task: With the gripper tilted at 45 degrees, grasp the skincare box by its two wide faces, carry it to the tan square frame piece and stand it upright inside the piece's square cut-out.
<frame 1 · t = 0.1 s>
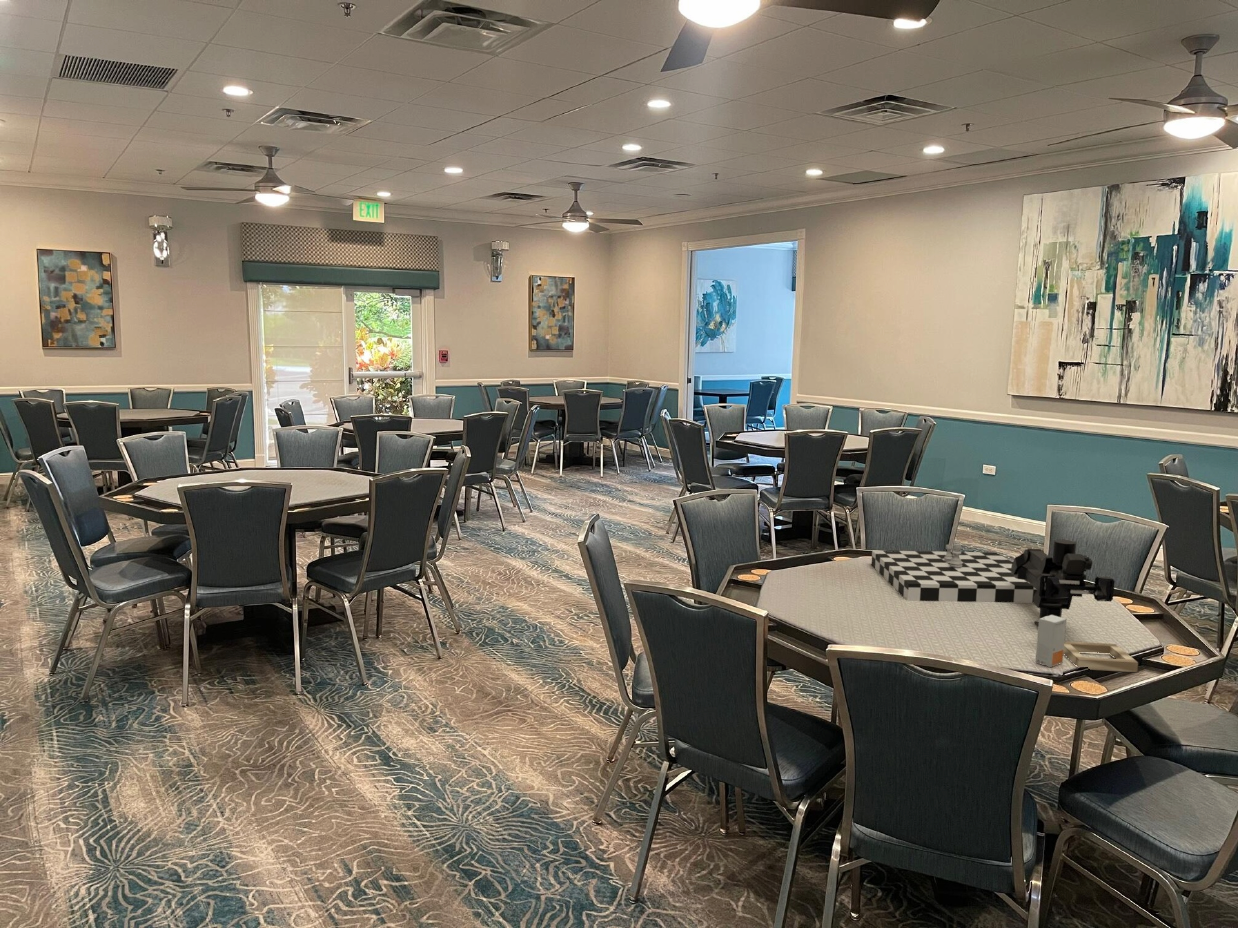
hand: (1086, 596, 234), 17 cm above the table, tool horizontal, fingers open, 9 cm apart
skincare box: (1049, 664, 232), on the table
tan square frame piece: (1096, 660, 234), on the table
checkerboard: (954, 584, 308), on the table
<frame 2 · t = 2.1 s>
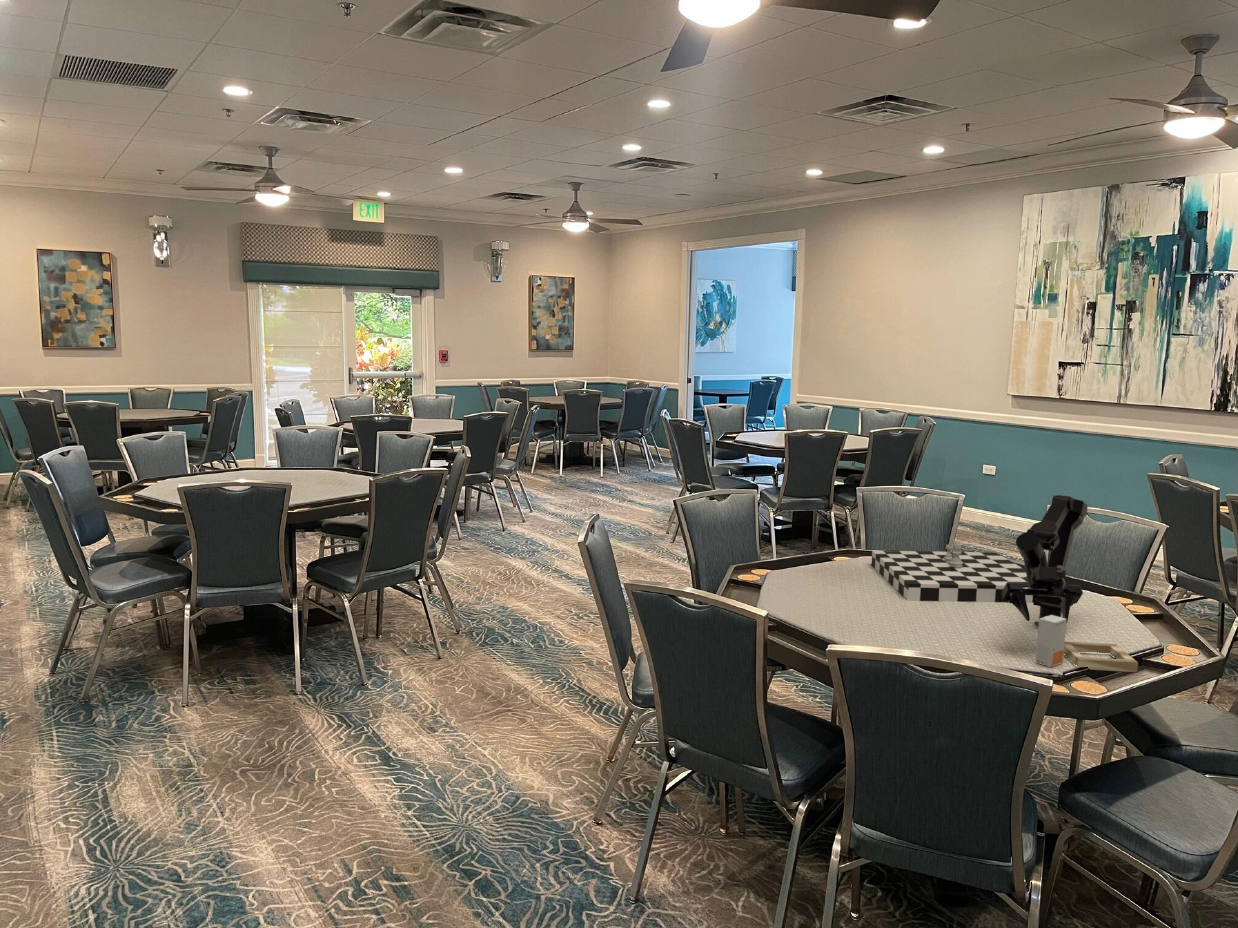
hand: (1047, 621, 234), 10 cm above the table, tool tilted 45°, fingers open, 9 cm apart
nothing on the table moved.
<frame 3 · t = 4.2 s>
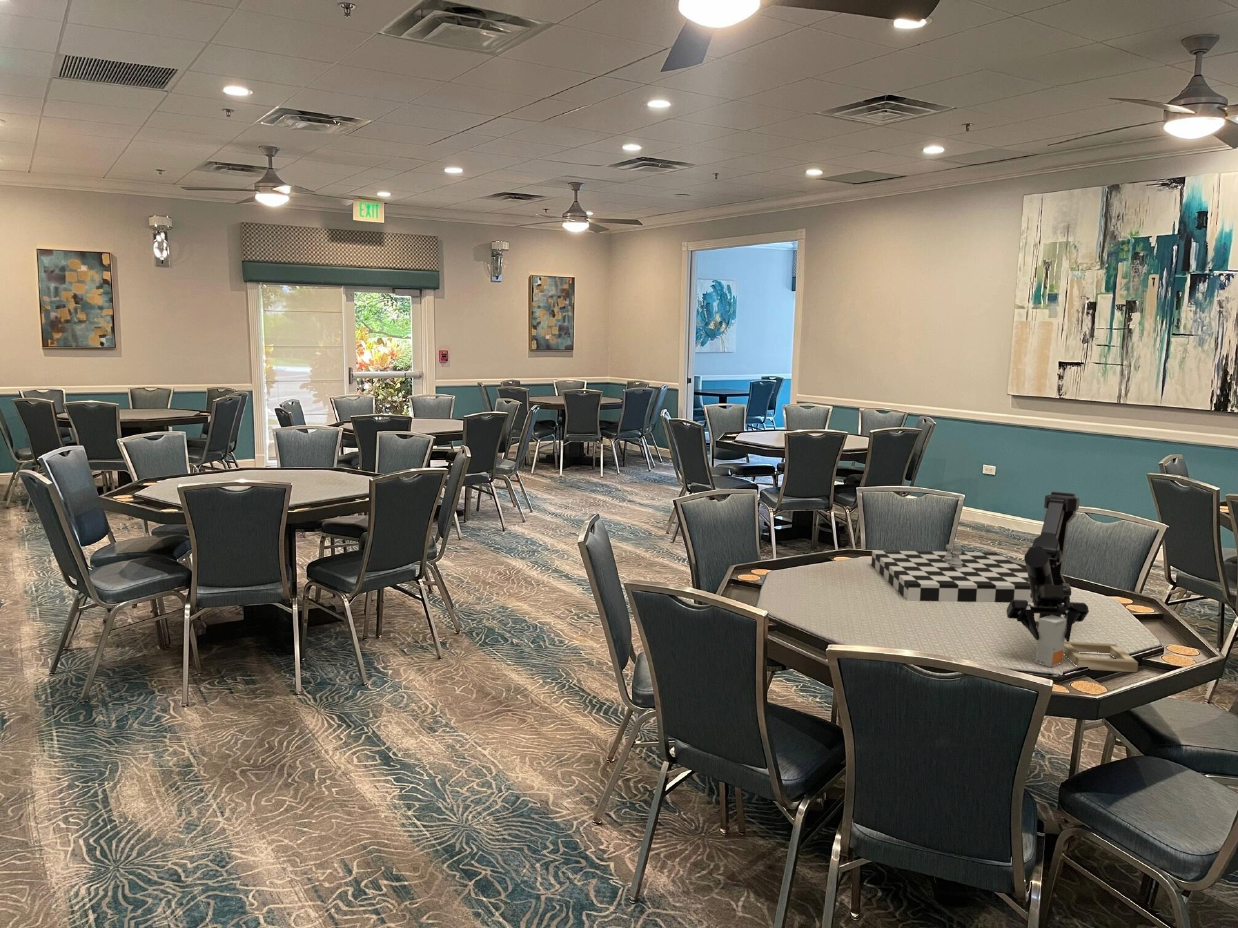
hand: (1052, 640, 230), 7 cm above the table, tool tilted 45°, fingers closed on skincare box, 7 cm apart
skincare box: (1049, 664, 232), on the table, touching gripper
everything else where it was.
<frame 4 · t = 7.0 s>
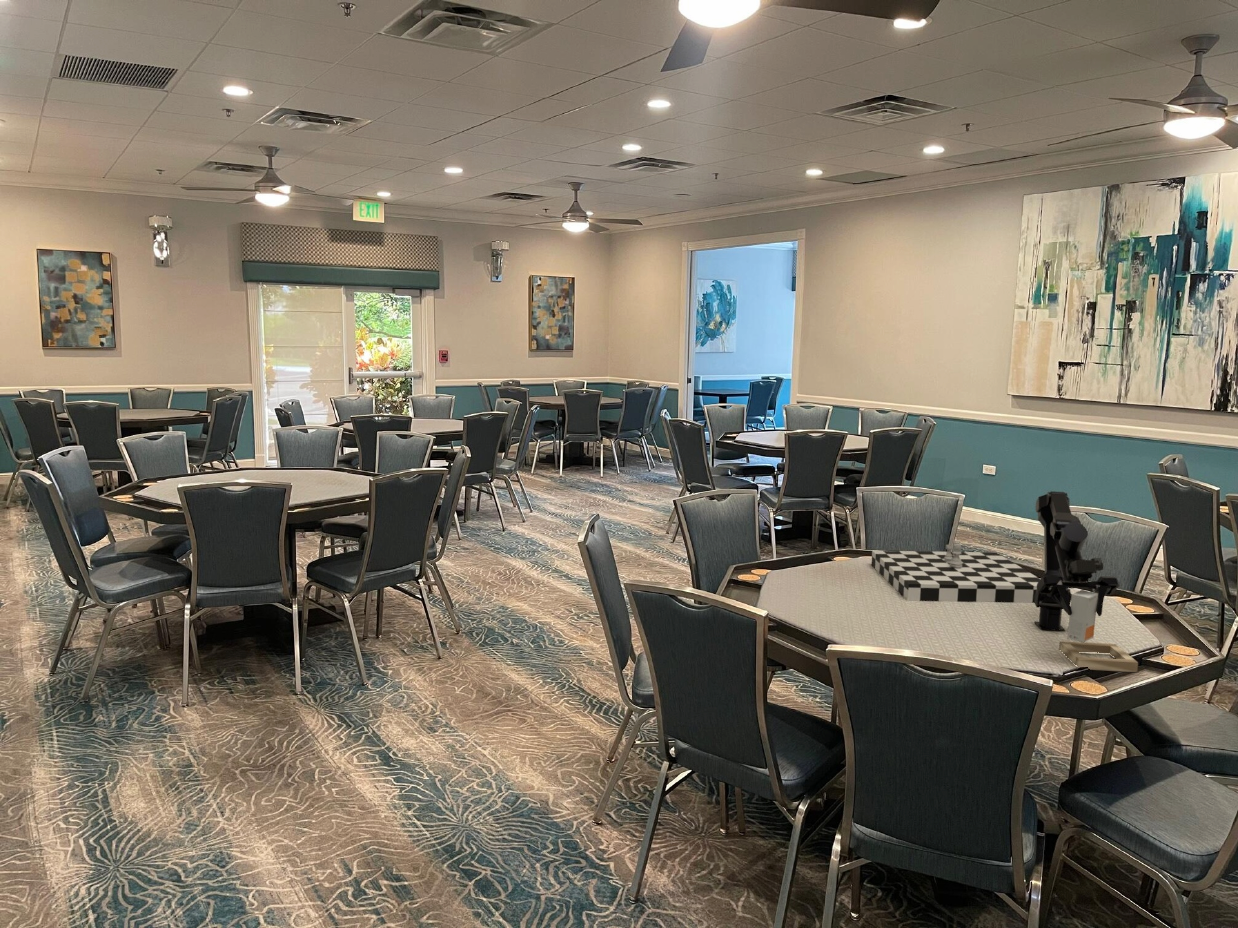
hand: (1085, 615, 230), 13 cm above the table, tool tilted 45°, fingers closed on skincare box, 7 cm apart
skincare box: (1080, 639, 232), point 6 cm above the table, touching gripper
everything else where it was.
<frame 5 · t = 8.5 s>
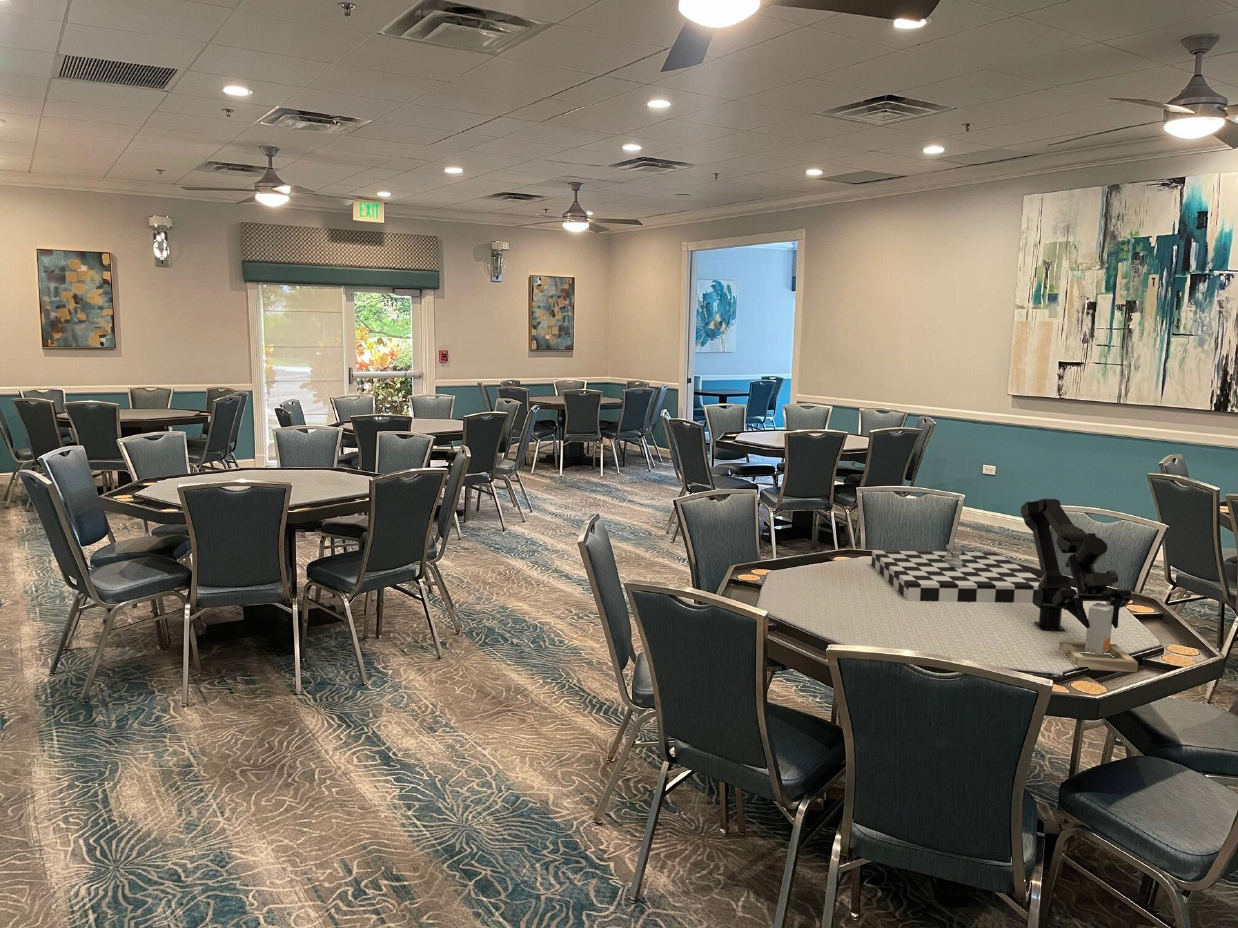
hand: (1102, 627, 232), 9 cm above the table, tool tilted 45°, fingers closed on skincare box, 7 cm apart
skincare box: (1097, 651, 234), point 2 cm above the table, touching gripper
everything else where it was.
when the fingers open (8 cm above the table, at t = 9.8 s): skincare box drops 1 cm, resting in tan square frame piece.
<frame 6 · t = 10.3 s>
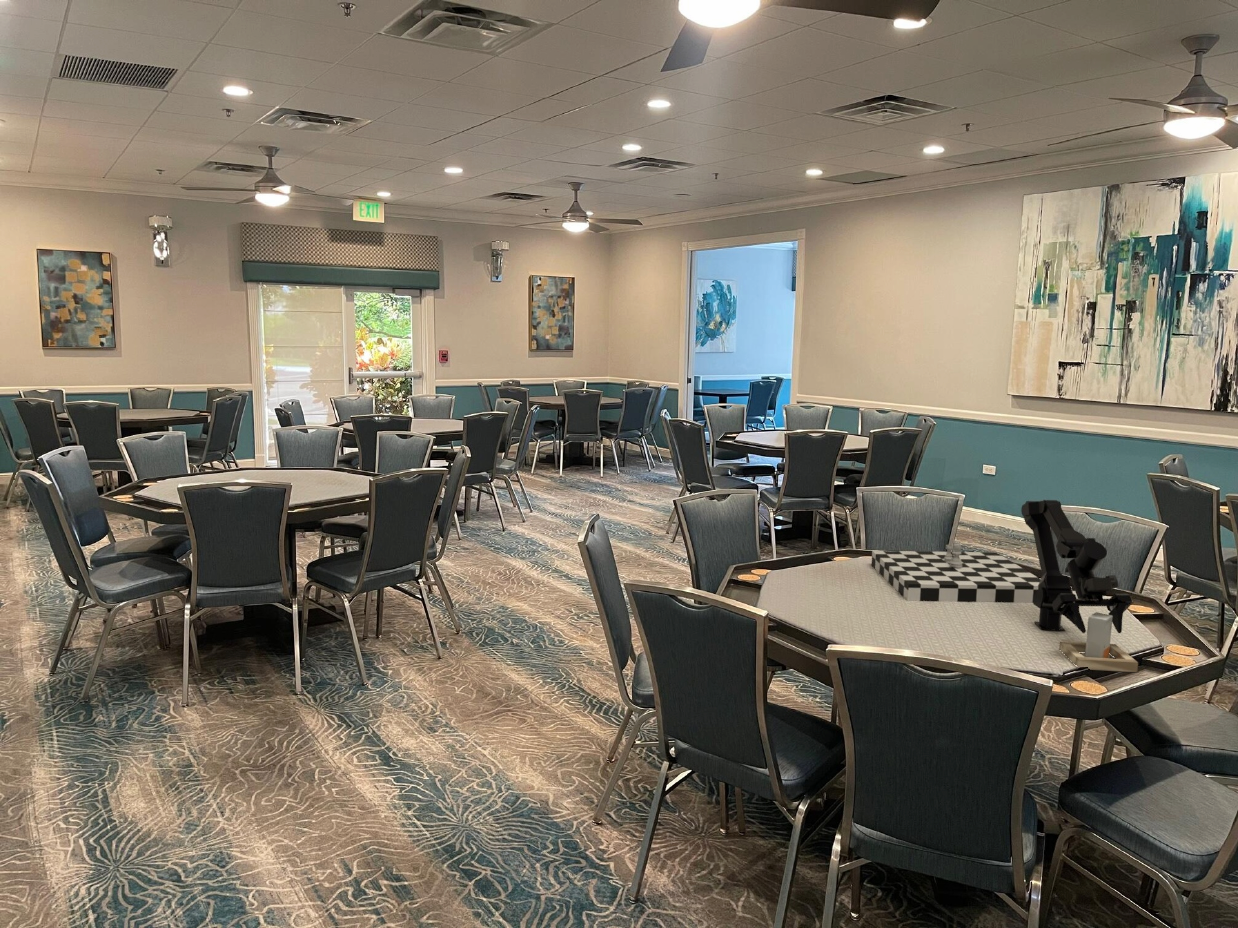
hand: (1102, 632, 232), 8 cm above the table, tool tilted 45°, fingers open, 9 cm apart
skincare box: (1096, 661, 234), resting in tan square frame piece
everything else where it was.
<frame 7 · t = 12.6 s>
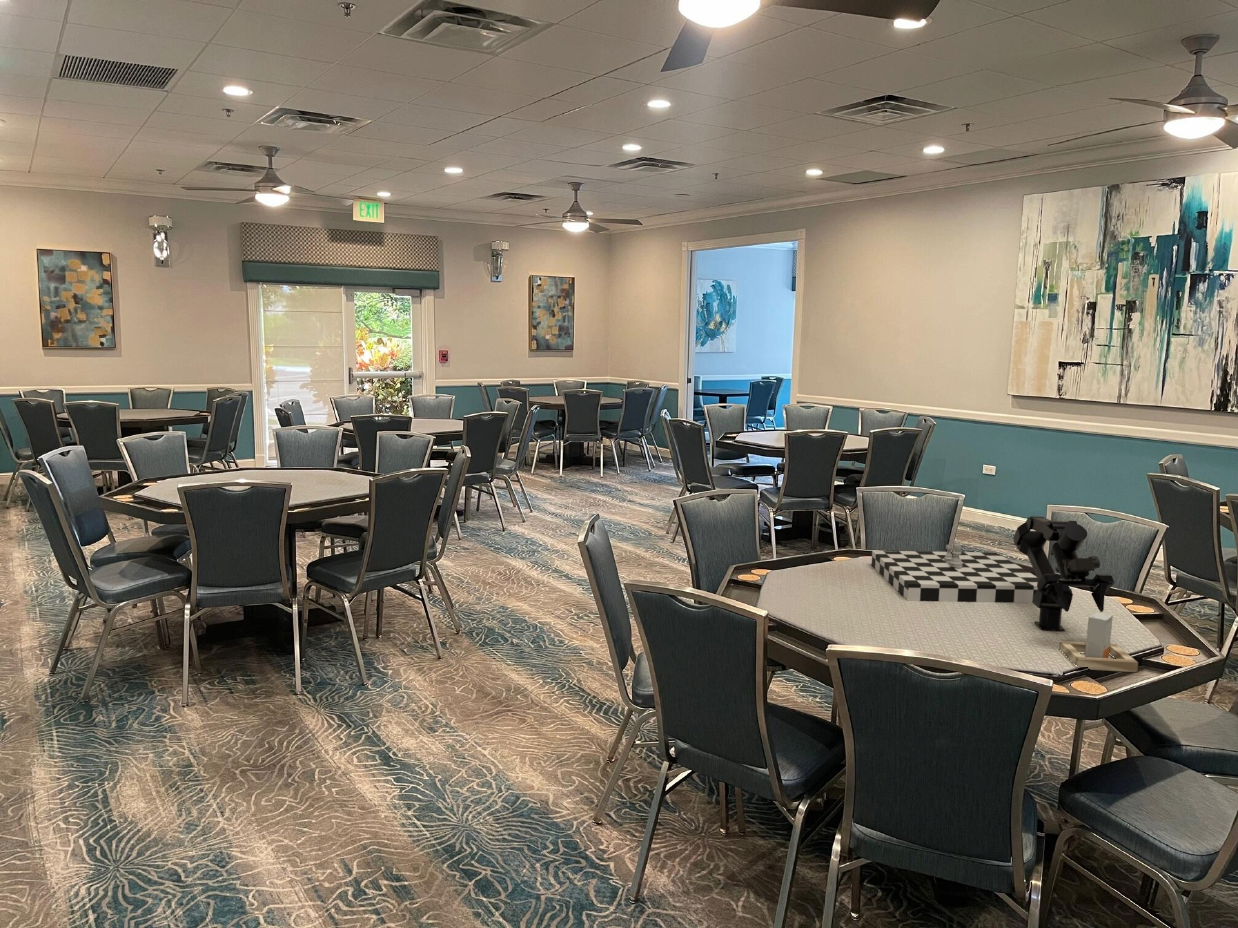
hand: (1084, 611, 240), 11 cm above the table, tool tilted 45°, fingers open, 9 cm apart
nothing on the table moved.
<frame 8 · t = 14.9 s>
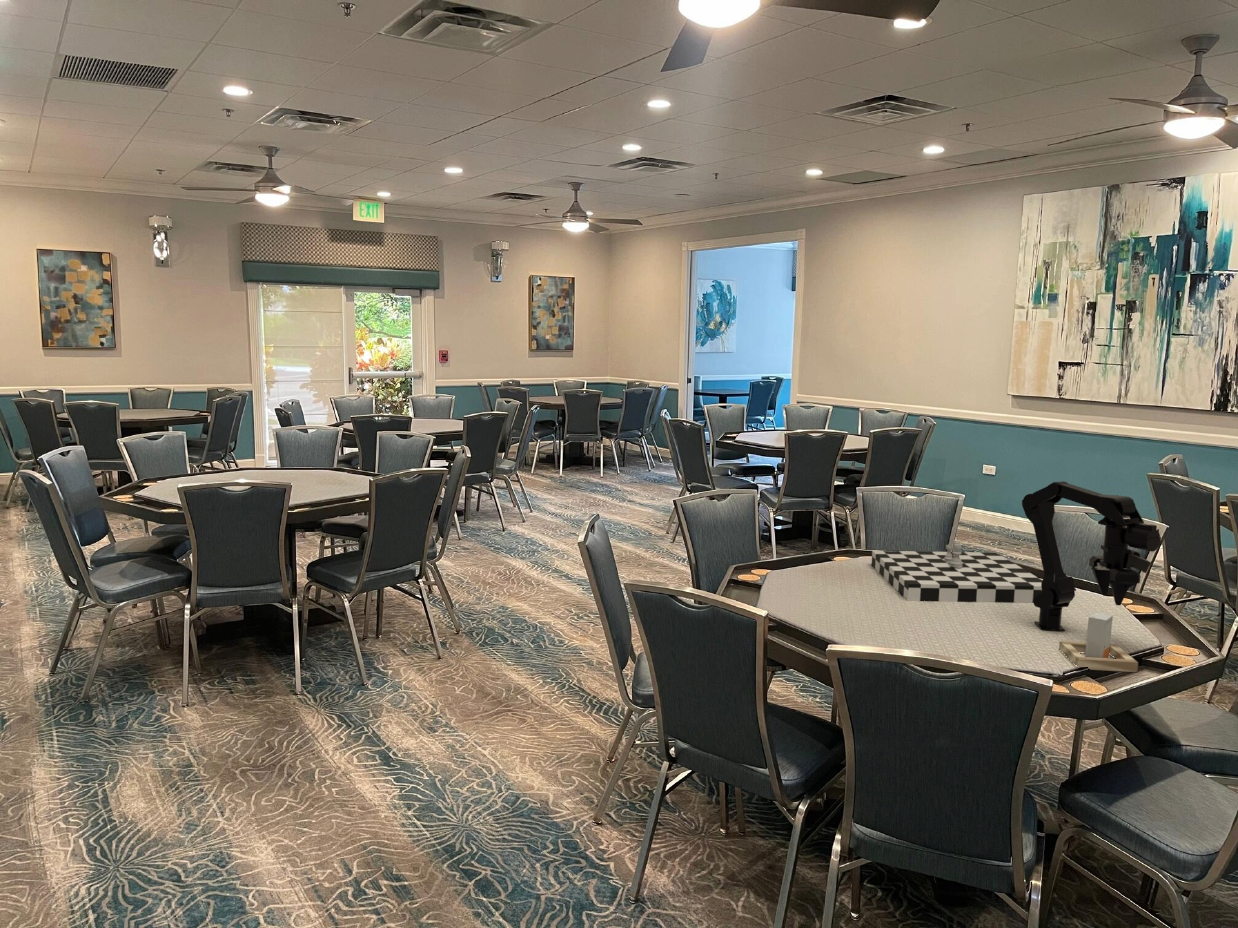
hand: (1111, 600, 243), 13 cm above the table, tool pointing down, fingers open, 9 cm apart
nothing on the table moved.
at the end: skincare box 0.2 cm off-centre on the tan square frame piece, point 0.0 cm above the tan square frame piece's base; skincare box tilted 0°; the gripper is holding nothing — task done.
